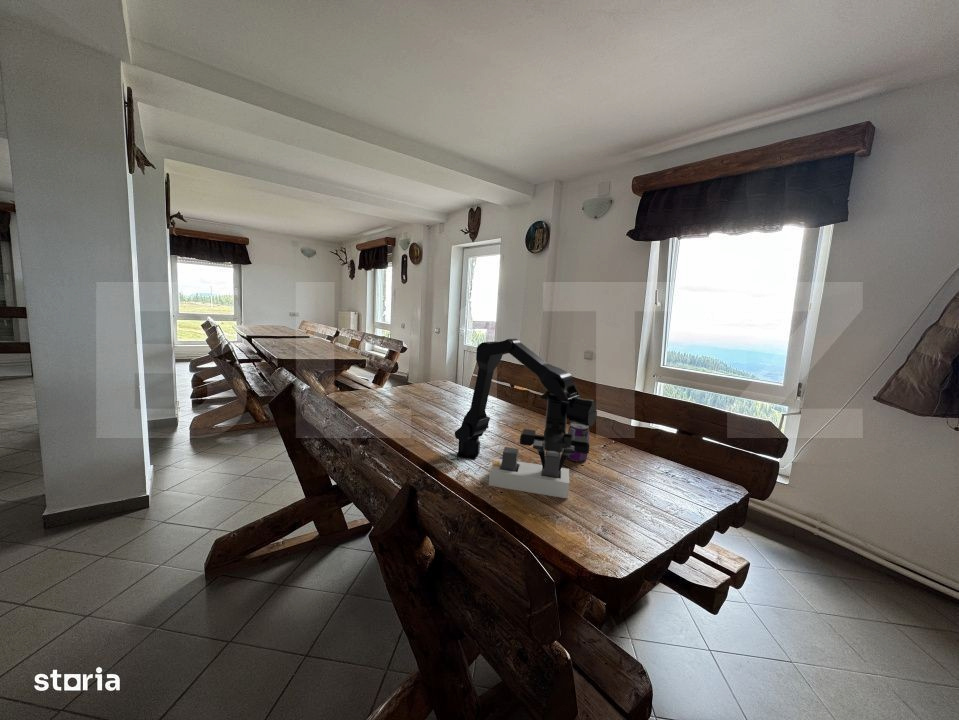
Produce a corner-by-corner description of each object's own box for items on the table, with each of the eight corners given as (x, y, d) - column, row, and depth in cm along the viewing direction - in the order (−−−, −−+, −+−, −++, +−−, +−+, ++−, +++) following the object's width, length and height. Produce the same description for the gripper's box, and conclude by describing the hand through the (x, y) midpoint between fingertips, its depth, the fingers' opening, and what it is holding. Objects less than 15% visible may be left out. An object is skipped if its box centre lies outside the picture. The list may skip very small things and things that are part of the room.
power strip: (488, 485, 104) (490, 453, 103) (494, 471, 113) (496, 442, 111) (567, 498, 99) (571, 465, 98) (567, 483, 108) (570, 452, 107)
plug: (542, 482, 103) (545, 452, 102) (543, 476, 107) (546, 447, 106) (557, 485, 102) (560, 454, 101) (557, 478, 106) (560, 449, 105)
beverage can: (587, 464, 122) (591, 429, 120) (565, 461, 124) (569, 427, 122) (585, 455, 129) (589, 423, 127) (565, 453, 130) (568, 420, 129)
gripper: (519, 421, 96) (515, 476, 98) (593, 430, 92) (587, 488, 94) (524, 409, 107) (520, 460, 109) (590, 417, 103) (584, 469, 105)
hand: (551, 469), depth 104 cm, fingers closed on plug, 4 cm apart
